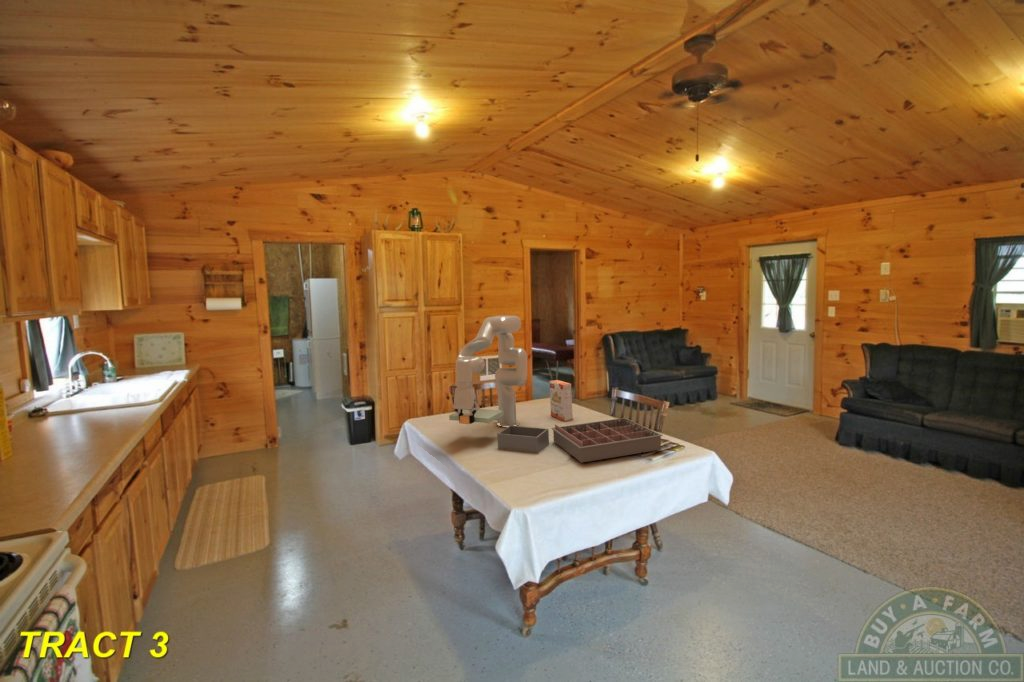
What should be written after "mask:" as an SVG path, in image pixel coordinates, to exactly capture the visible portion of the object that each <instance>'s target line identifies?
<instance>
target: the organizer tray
mask: <svg viewBox="0 0 1024 682" xmlns="http://www.w3.org/2000/svg"><path fill="white" fill-rule="evenodd" d="M550 429H551V430H552V431H553V443H555V444H556V445H558V446H559V447H560V448H562V449H563V451H565V452H567V453H568V454H570V455H571V456H572V457H573V458H575V459H576V460H577V461H579V462H580V463H587V462H593V461H600V460H603V459H604V460H605V459H610V458H611V459H612V458H617V457H618V458H619V457H624V456H629V455H635V454H641V453H642V452H643V453H647V452H654V451H659V450H661V449H662V448H661V447H662V445H661V444H662V442H661V441H662V438H661V437H663V434H661V433H659V432H657V431H654V430H652V429H650V428H648V427H646V426H644V425H643V424H640V423H637V422H635V421H633V420H632V419H629V418H627V417H621V418H613V419H607V420H599V421H592V422H587V423H586V422H585V423H584V422H583V423H579V424H571V425H564V426H559V425H558V424H556V423H555V424H554V427H551V428H550ZM661 451H662V450H661Z"/></svg>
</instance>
